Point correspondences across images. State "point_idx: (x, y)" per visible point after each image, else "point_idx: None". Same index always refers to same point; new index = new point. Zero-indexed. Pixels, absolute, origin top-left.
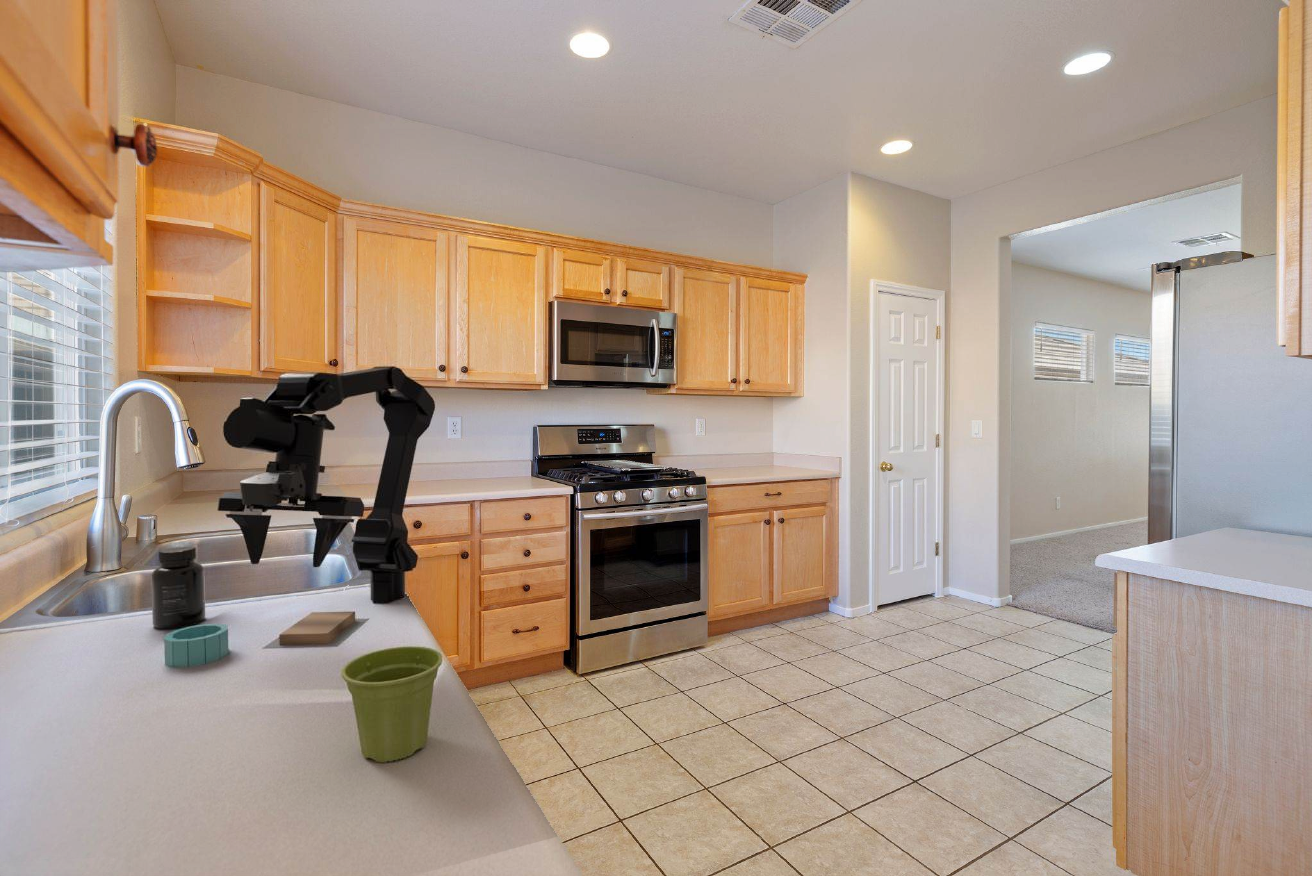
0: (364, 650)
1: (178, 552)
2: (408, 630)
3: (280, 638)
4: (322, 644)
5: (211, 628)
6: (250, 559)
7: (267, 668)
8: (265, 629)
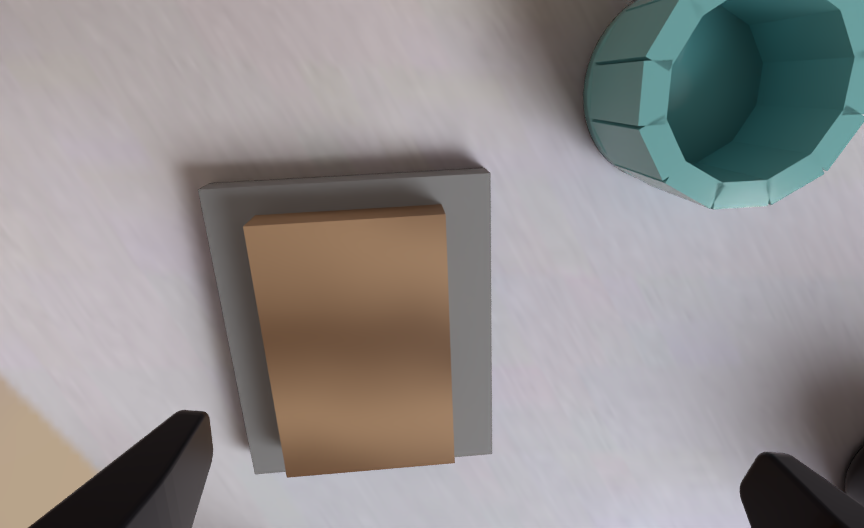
0: (130, 225)
1: None
2: (86, 418)
3: (439, 210)
4: (271, 207)
5: (727, 179)
6: (820, 477)
7: (403, 48)
8: (608, 419)
